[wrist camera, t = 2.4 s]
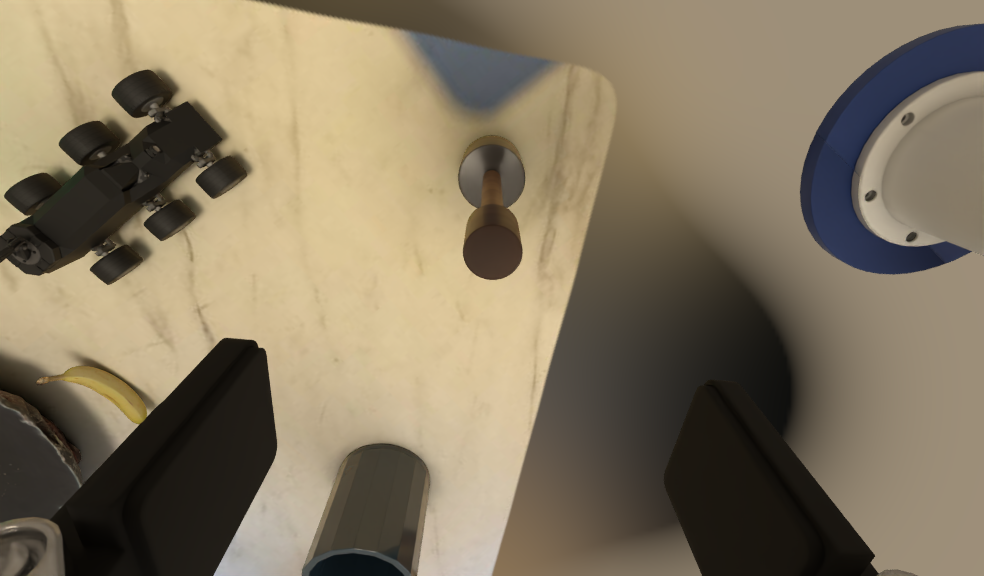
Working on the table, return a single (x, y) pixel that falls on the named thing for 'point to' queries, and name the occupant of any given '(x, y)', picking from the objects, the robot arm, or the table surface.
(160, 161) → the toy vehicle
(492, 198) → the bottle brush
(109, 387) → the banana
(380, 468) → the container
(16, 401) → the board
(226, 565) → the table surface
